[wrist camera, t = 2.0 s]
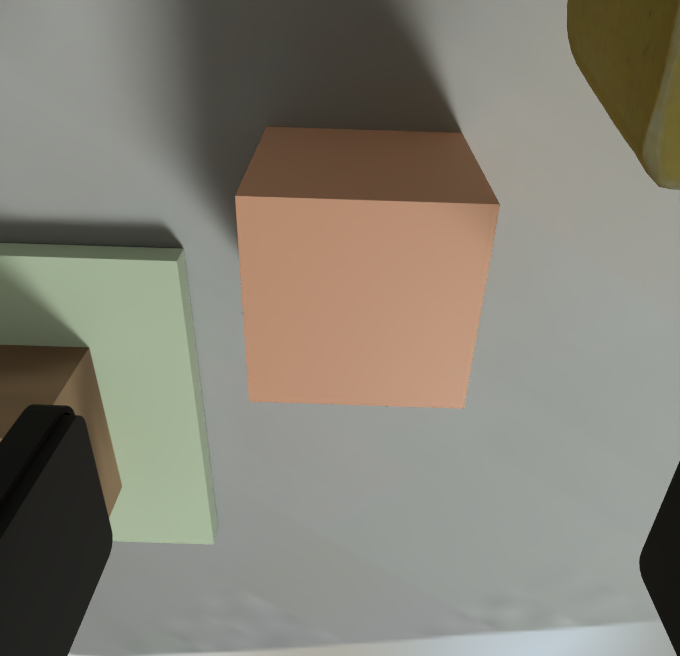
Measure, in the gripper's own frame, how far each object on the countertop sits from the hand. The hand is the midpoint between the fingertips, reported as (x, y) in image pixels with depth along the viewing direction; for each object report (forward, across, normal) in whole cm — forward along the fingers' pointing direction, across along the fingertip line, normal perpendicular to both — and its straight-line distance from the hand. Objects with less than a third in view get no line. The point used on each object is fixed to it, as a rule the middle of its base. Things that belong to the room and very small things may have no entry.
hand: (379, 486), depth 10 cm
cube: (+9, 0, -1) cm, 9 cm away
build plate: (+9, +11, +6) cm, 16 cm away
